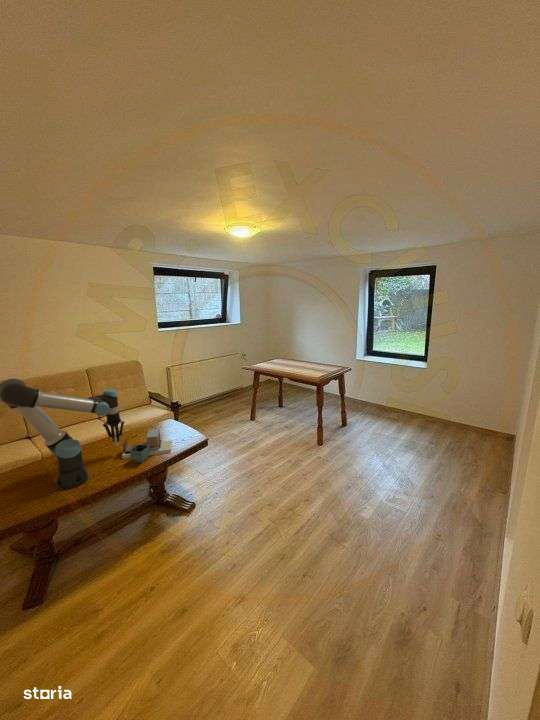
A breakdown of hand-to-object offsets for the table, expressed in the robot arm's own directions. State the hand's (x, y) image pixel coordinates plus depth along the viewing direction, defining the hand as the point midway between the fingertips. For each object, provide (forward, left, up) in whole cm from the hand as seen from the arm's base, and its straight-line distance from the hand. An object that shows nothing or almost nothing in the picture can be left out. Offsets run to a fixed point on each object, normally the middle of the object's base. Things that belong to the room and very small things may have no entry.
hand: (116, 445), depth 195 cm
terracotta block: (+23, 0, -2) cm, 23 cm away
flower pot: (+16, -13, -7) cm, 22 cm away
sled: (+16, 0, -4) cm, 16 cm away
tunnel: (+23, 0, -4) cm, 23 cm away
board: (+19, 0, -6) cm, 20 cm away
